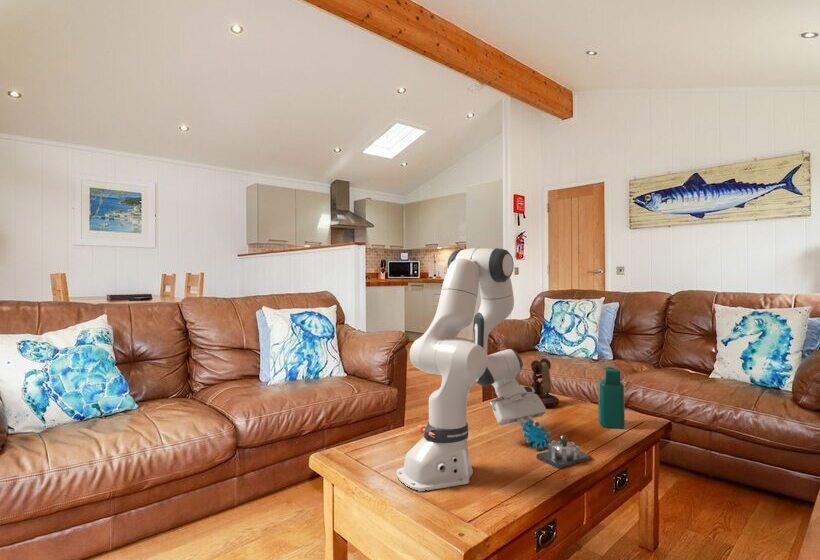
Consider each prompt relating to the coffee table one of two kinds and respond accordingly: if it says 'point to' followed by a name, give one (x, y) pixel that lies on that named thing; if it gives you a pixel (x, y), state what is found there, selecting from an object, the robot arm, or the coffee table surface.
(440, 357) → the robot arm
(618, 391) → the green bottle
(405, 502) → the coffee table surface
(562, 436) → the grey metal fixture
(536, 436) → the gear
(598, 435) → the coffee table surface
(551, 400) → the dark brown figurine
